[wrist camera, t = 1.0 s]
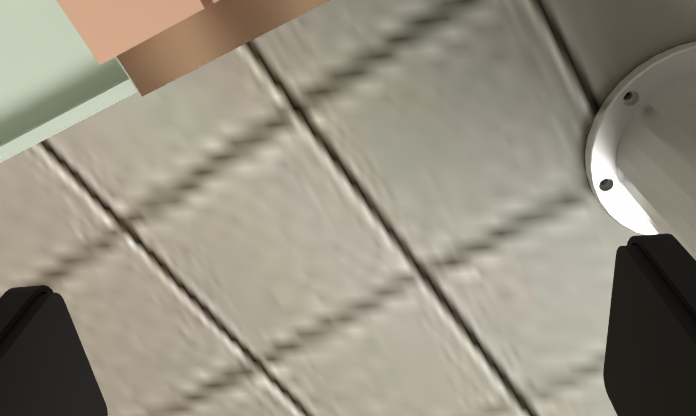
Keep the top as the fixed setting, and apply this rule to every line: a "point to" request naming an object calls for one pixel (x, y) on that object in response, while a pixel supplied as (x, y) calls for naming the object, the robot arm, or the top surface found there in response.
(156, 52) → the brown flat block
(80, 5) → the tile
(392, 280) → the top surface
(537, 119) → the top surface
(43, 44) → the tray
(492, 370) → the top surface
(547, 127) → the top surface
